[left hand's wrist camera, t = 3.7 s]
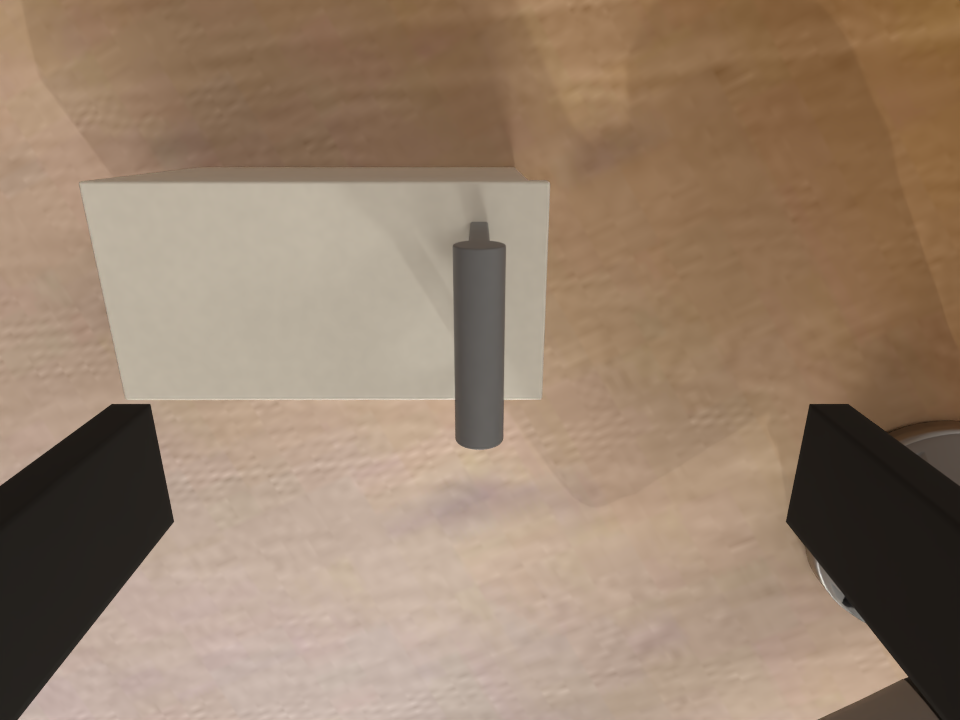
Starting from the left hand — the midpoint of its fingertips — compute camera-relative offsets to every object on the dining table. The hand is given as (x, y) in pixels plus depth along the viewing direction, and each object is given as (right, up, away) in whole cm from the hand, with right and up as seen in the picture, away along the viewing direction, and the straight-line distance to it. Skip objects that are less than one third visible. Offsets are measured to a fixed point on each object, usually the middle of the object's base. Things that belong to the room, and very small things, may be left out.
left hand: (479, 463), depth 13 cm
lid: (-6, +5, +14) cm, 16 cm away
